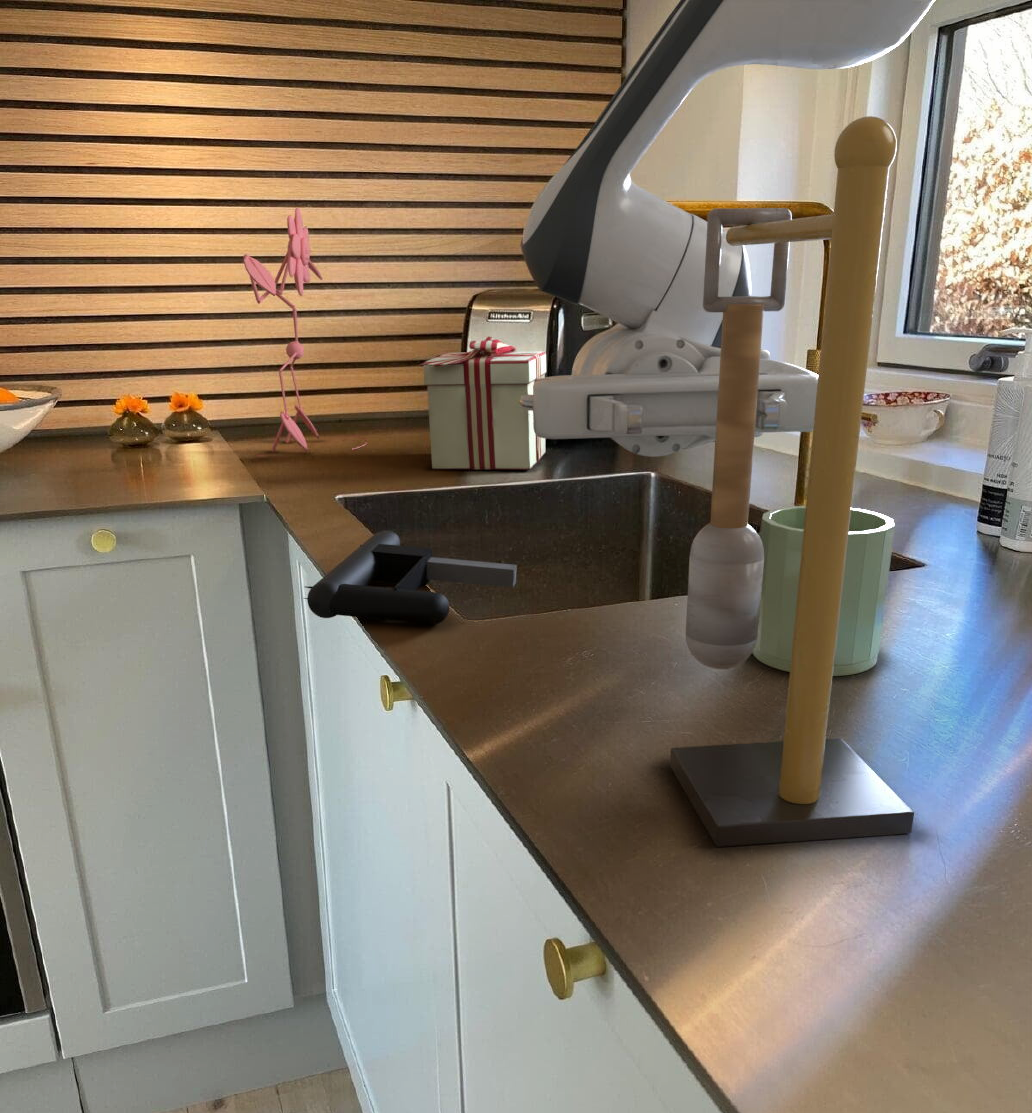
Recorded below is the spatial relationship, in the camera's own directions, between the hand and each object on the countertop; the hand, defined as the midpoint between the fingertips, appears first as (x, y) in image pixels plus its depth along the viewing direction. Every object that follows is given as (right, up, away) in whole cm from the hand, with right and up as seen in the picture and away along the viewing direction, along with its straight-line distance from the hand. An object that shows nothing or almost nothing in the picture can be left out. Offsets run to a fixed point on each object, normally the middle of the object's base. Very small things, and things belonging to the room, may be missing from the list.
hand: (704, 418), depth 66 cm
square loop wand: (+1, -16, -1) cm, 16 cm away
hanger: (+2, -21, -6) cm, 22 cm away
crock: (+10, -15, +10) cm, 20 cm away
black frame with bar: (-21, -9, +25) cm, 34 cm away
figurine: (-43, +21, +101) cm, 112 cm away
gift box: (-17, +16, +86) cm, 89 cm away
